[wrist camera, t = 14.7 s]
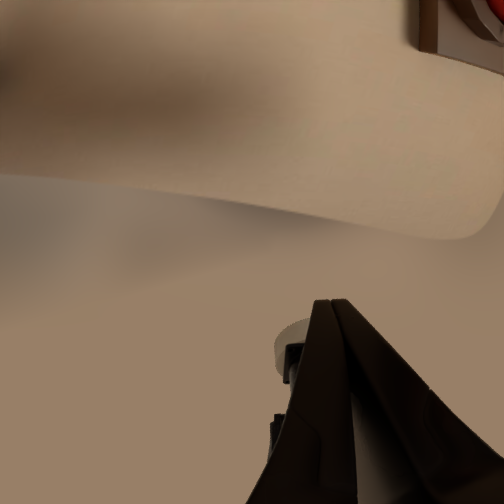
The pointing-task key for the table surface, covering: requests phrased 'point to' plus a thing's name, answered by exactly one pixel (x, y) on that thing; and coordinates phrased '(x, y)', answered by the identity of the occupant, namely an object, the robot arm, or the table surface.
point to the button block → (462, 32)
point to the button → (497, 8)
